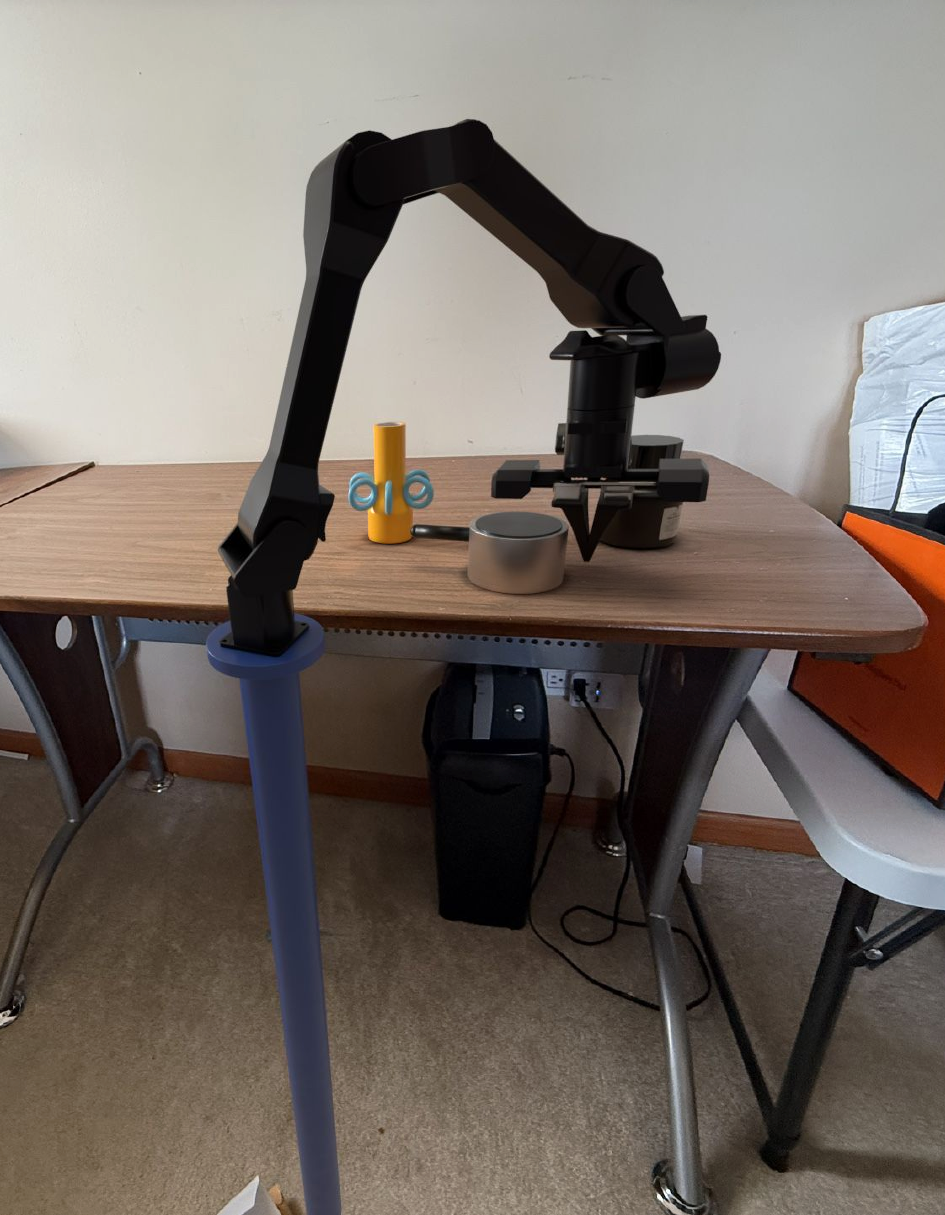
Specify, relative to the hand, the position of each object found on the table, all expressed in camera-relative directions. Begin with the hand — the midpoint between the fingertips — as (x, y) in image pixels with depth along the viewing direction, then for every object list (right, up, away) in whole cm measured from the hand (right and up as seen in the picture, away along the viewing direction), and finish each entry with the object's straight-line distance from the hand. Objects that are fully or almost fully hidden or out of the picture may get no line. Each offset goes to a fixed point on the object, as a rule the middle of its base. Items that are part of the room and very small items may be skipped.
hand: (586, 560), depth 65 cm
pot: (-9, -1, +6) cm, 11 cm away
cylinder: (-17, +4, +20) cm, 26 cm away
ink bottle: (+12, +3, +12) cm, 17 cm away
